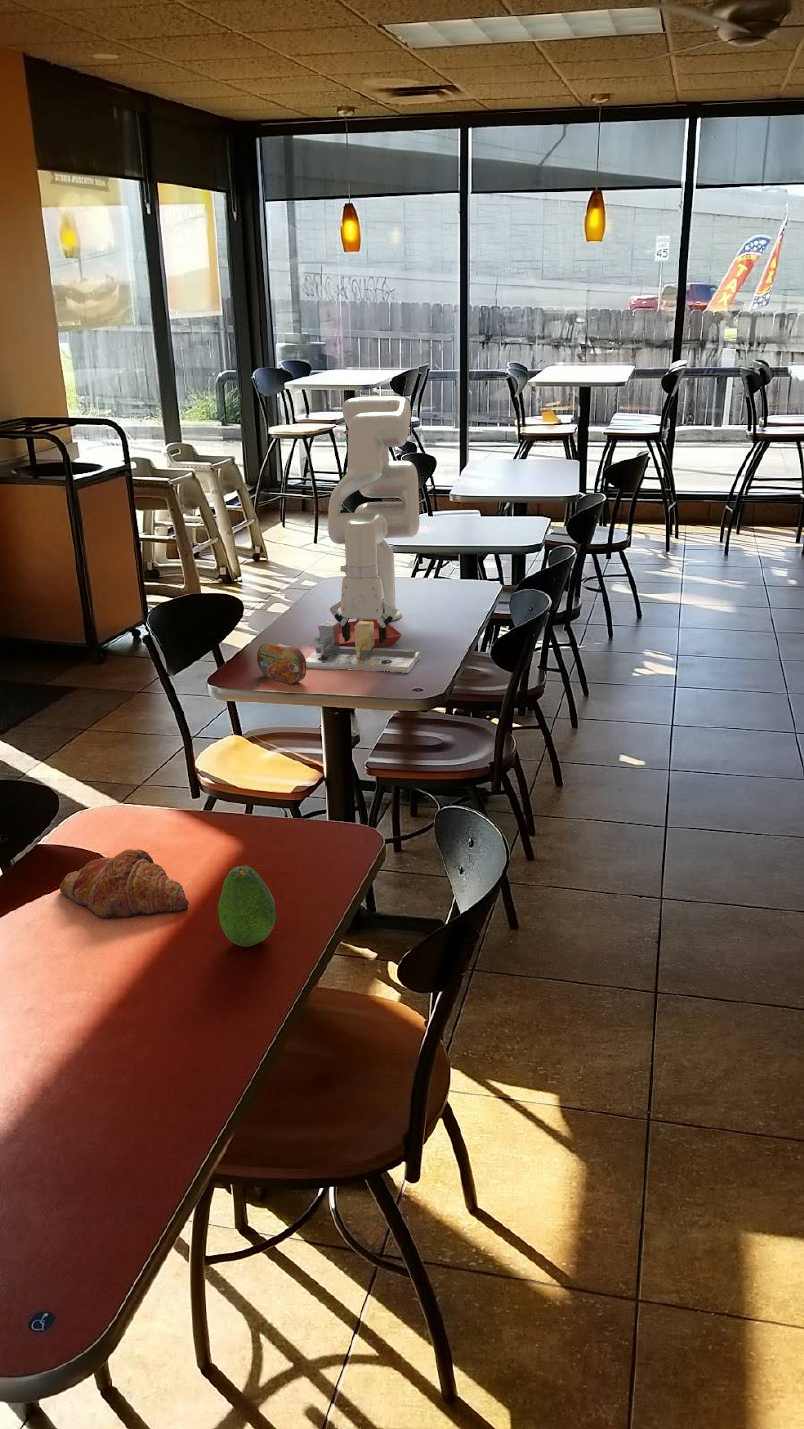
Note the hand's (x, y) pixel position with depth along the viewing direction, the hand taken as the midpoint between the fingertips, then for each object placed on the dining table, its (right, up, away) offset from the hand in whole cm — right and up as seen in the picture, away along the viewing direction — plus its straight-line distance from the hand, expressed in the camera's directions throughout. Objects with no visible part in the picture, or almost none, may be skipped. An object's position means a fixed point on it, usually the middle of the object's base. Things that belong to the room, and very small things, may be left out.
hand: (364, 641), depth 280 cm
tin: (-19, -10, -11) cm, 24 cm away
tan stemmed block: (0, -3, -1) cm, 3 cm away
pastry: (-33, -46, -107) cm, 121 cm away
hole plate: (-1, -5, -1) cm, 5 cm away
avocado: (-12, -50, -120) cm, 131 cm away
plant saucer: (-2, +1, +17) cm, 17 cm away
